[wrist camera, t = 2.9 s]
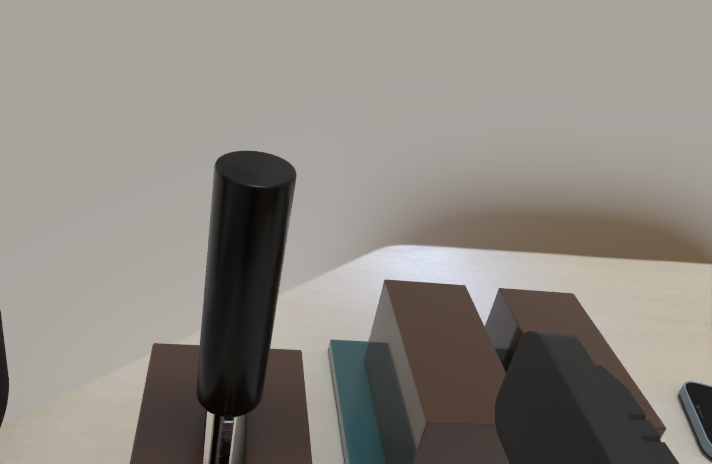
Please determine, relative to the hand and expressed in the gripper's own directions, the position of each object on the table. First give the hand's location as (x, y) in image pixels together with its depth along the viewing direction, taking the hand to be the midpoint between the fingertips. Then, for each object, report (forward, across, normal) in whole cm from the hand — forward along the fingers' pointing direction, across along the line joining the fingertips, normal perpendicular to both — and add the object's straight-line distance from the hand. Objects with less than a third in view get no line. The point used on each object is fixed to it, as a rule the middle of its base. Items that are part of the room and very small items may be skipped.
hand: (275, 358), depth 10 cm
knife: (+11, 0, +24) cm, 27 cm away
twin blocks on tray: (+20, -16, +24) cm, 35 cm away
